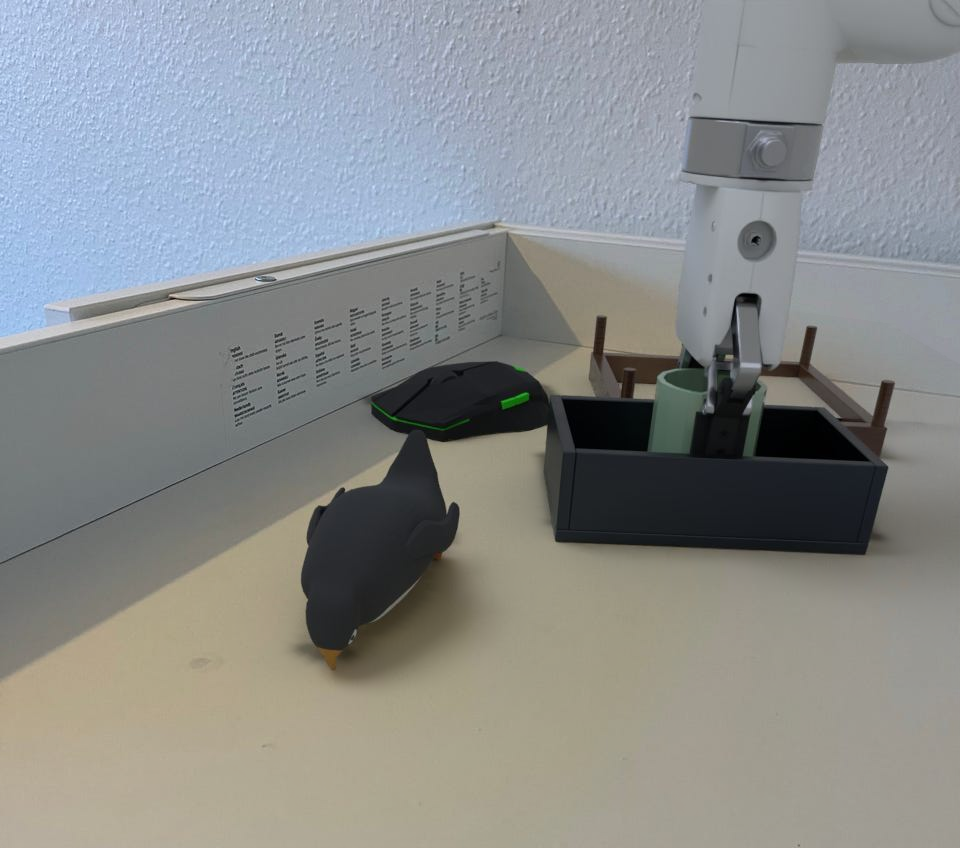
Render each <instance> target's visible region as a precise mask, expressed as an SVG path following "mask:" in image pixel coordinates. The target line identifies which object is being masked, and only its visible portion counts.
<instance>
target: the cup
mask: <svg viewBox="0 0 960 848" xmlns="http://www.w3.org/2000/svg"><path fill="white" fill-rule="evenodd" d="M723 378H730V375H717V387H716V392H717V390H718V388H719V386H720V383H721V382H722V380H723ZM703 384H704V368H682V369H673V370H669V371H664V372H662V373H661V374H660V375H659V376H658V377H657V384H656V385H655V392H654V398H653V399H654V406H653V414H652V421H651V429H650V436H649V444H648V451H647V452H665V453H687V454H690V447H691V441H692V435H693V428H694V422H695V416H696V412H702V403H703ZM755 385H756V386H755V388H756V392H755V395H753V404H752V412H751V416H750V420H749V425H748V431H747V436H746V441H745V447H744V452H743V456H753V457H754V456H755V451H756V446H757V440H758V435H759V430H760V424H761V419H762V414H763V408H764V405H765V403H766V397H767V393H768V385H766V383H765V382H763V380H760V379H758V380H757V381H756V383H755Z"/></svg>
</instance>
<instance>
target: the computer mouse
mask: <svg viewBox="0 0 960 848" xmlns="http://www.w3.org/2000/svg"><path fill="white" fill-rule="evenodd" d="M370 398H371V399H370V400H371V404H370V405H371V415H372V416H373V417H374V418H376V419H377V420H378V421H379V422H381V423H382V424H383V425H385V426H386V427H387V428H388V429H390V430H393V431H394V432H399V433H404V434H408V435H409V434H410V433H411V432H412V431H413V430H420V431H422V432H424V434H425V436H426V439H430V440H434V441H437V442H438V441H439V442H449V441H453V440H459V439H465V438H471V437H475V436H483V435H491V434H498V433H499V432H500V433H512V432H511V431H514V432H523V431H522V430H525V431H530V429H531V430H534V429H536V428H535V427H537V428H540V427H543V426H547V424H548V412H549V400H550V398H549V395H548V393H547V392H546V391H545V389H544V387H543V386H542V384H541V383H540V381H539V380H538V379H537V378H536V377H534V376H533V375H531V373H529V372H528V371H527V370H526V369H524V368H522V367H518V366H515V365H512V364H508V363H505V362H502V361H501V362H500V361H497V360H495V361H494V360H492V361H489V360H488V361H466V362H458V363H457V362H456V363H450V364H443V365H442V364H441V365H437V366H432V367H428V368H425V369H423V370H420V371H418V372H417V373H415V374H414V375H412V376H410V377H408V378H407V379H405V380H404V381H403V382H400V383H399V384H398V385H396V386H394V387H391V388H388V389H386V390H383V391H381V392H379V393H376V394H374V395H372V396H370ZM542 425H543V426H542ZM539 426H540V427H539ZM533 428H534V429H533ZM496 432H497V433H496ZM500 433H499V434H500Z"/></svg>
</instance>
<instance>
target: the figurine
mask: <svg viewBox="0 0 960 848" xmlns="http://www.w3.org/2000/svg"><path fill="white" fill-rule="evenodd" d="M440 485H441V484H440V482H439V474H438V471H437V467H436V465H435V462H434V460H433V456H432V453H431V449H430V446H429V443H428V438H426V436H425V434H424V432H422V431H420V430H413V431H412V432H411V433H410V434H408V435H407V437H406V439H405V441H404V442H403V444H402V445H401V448H400V450H399V451H398V454H397V455H396V457H395V458H394V460H393V461H392V463H391V464H390V466H389V468H388V470H387V473H386V474H385V476H384V478H383V479H382V481H380V482H379V483H378V484H374V485H364V486H360V487H355V488H351V489H349V490H347V491H346V488H345V487H344V486H343V487H340V488H339V489H338V490H337V491H336V493H335V494H334V495H333V497H332V498H331V500H330V502H329V503H328V504H327V505H317V506H316V507H315V508H314V510H313V512H312V514H311V517H310V520H309V522H308V527H307V531H306V544H307V549H306V552H305V556H304V560H303V564H302V567H301V573H300V585H301V589H302V592H303V594H304V597H306V599H307V601H306V605H305V624H306V628H307V631H308V634H309V638H310V640H311V641H312V643H313V645H314V646H315V647H316V649H317V650H318V651H319V652H320V653H321V655H322V656H323V657H324V659H325V661H326V663H327V665H328V667H329V668H330V669H331V670H335V669H336V668H337V664H336V663H337V658H338V656H340V654H341V653H342V652H343V651H344V650H345V649H347V648H348V647H349V646H350V645H351V644H353V642H354V641H355V639H356V637H357V635H358V631H359V629H360V627H361V626H364V625H368V624H372V623H374V622H376V621H378V620H380V619H381V618H382V617H384V616H385V615H387V614H388V613H389V612H390V611H391V610H392V609H393V608H394V607H395V606H396V605H397V604H399V603H400V602H401V601H402V600H403V599H404V598H405V597H406V596H407V594H409V592H411V590H412V589H413V588H414V587H415V586H416V584H417V583H418V582H419V581H420V579H421V578H422V576H423V575H424V574H425V572H426V571H427V569H428V568H429V566H430V565H431V563H432V561H433V560H434V558H435V559H436V560H440V559H442V557H443V553H444V552H446V551H447V550H448V549H449V548H450V547H451V546H452V544H453V542H454V541H455V539H456V535H457V532H458V530H459V529H458V528H459V522H460V515H461V514H460V513H461V512H460V506H459V504H458V503H457V502H455V501H452V502H451V503H450V504H449V506H448V509H447V506H446V502H445V498H444V495H443V491H442V488H441V486H440Z"/></svg>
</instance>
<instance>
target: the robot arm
mask: <svg viewBox="0 0 960 848" xmlns="http://www.w3.org/2000/svg"><path fill="white" fill-rule="evenodd" d="M957 53H960V0H703V4H702V13H701V20H700V27H699V34H698V42H697V50H696V56H695V57H696V58H695V64H694V71H693V79H692V80H693V81H692V87H691V95H690V101H689V110H688V116H689V117H688V118H687V124H686V132H685V139H684V140H685V141H684V147H683V155H682V160H681V161H682V162H681V170H680V175H679V181H681V182H682V183H686V184H689V183H690V184H692V185H695V189H694V195H693V201H692V206H691V210H690V212H689V223H688V228H687V234H686V240H685V245H684V246H685V247H684V252H683V259H682V265H681V273H680V279H679V285H678V293H677V302H676V311H675V334H676V336H677V339H678V340H679V341H680V342H681V349H680V352H679V355H678V356H679V360H678V364H677V369H682V368H704V384H703V403H702V412H696V416H695V422H694V428H693V435H692V441H691V447H690V454H709V455H731V456H743V452H744V447H745V441H746V436H747V431H748V425H749V420H750V416H751V412H752V404H753V395H755V392H756V388H755V386H756V385H755V383H756V381H757V380H759V377H761V376H760V373H761V367H762V368H763V369H764V370H766V371H771V370H773V369H775V368H776V367H777V366H778V365H779V364H780V362H781V361H782V358H783V352H784V348H785V340H786V336H787V335H786V334H787V329H788V323H789V322H788V321H789V317H790V316H789V314H790V308H791V301H792V296H793V295H792V294H793V288H794V281H795V273H796V267H797V260H798V252H799V241H800V235H801V234H800V233H801V222H802V221H801V220H802V204H803V203H802V199H803V192H808V191H812V190H813V185H814V178H815V174H816V169H817V164H818V159H819V153H820V148H821V143H822V139H823V138H822V137H823V132H824V127H825V126H824V124H825V121H826V117H827V113H828V106H829V101H830V96H831V92H832V88H833V87H832V86H833V82H834V76H835V72H836V66H837V64H876V65H911V64H912V65H913V64H924V63H930V62H934V61H938V60H942V59H946V58H948V57H952V56H953V55H955V54H957ZM726 356H732V359H733V361H724V360H725V358H726ZM717 375H730V378H723V380H722V382H721V383H720V386H719V388H718V390H717V392H716V387H717Z"/></svg>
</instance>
